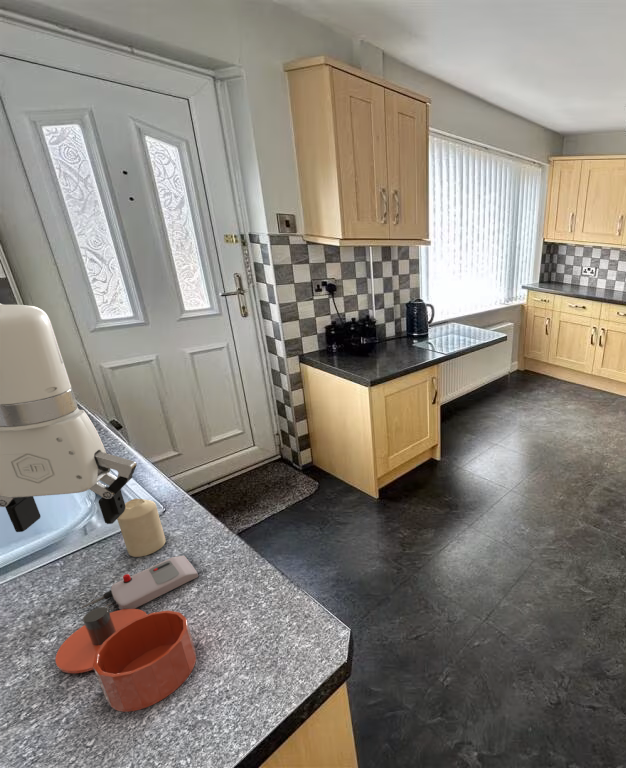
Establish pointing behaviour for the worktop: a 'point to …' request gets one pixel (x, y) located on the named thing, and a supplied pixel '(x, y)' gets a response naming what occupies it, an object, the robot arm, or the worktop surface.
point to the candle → (141, 527)
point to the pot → (145, 660)
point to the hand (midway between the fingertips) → (73, 521)
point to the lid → (92, 638)
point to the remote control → (149, 583)
